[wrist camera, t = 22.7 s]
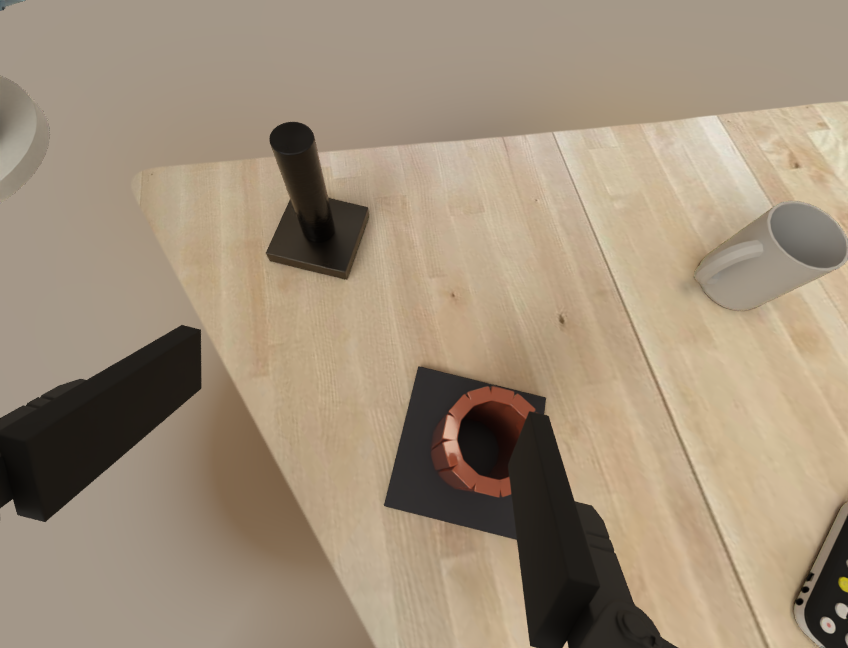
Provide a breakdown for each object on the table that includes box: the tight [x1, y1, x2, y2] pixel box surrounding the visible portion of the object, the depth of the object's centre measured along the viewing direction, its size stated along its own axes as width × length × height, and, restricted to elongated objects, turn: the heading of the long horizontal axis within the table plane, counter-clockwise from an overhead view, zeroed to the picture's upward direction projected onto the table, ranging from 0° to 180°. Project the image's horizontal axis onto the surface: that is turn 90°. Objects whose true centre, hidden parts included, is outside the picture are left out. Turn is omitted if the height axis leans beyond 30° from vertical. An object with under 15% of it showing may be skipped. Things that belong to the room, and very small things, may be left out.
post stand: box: [266, 122, 369, 279], centre depth 35 cm, size 8×8×13 cm
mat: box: [384, 366, 546, 540], centre depth 34 cm, size 12×12×1 cm
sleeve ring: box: [430, 386, 536, 497], centre depth 30 cm, size 7×7×9 cm
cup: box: [694, 201, 848, 311], centre depth 39 cm, size 7×10×9 cm
